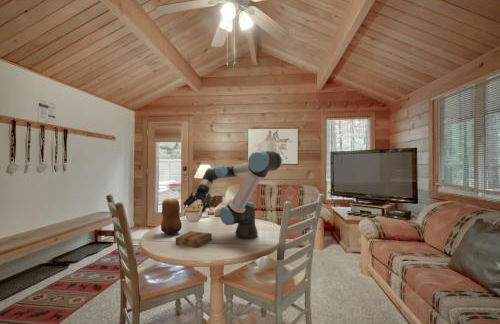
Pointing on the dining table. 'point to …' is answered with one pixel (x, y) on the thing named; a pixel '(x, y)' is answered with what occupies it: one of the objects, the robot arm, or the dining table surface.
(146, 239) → the dining table surface
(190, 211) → the lidded jar
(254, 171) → the robot arm
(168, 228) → the butternut squash
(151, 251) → the dining table surface
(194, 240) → the plinth
